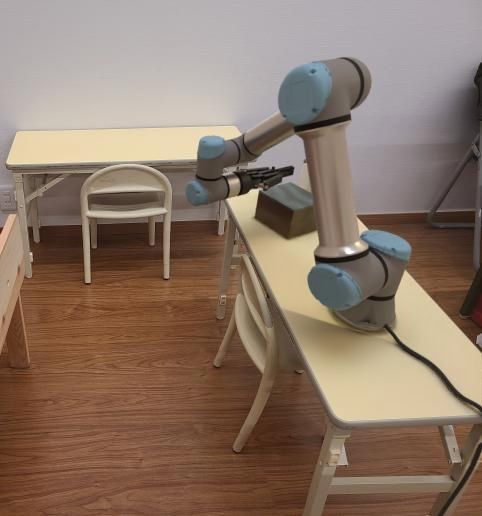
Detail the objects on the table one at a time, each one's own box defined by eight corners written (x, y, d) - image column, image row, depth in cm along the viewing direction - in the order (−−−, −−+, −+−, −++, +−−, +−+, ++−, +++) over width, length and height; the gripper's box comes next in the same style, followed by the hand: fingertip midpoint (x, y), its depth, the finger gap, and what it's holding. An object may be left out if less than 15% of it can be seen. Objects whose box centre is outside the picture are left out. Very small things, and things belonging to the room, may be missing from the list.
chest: (283, 209, 178) (288, 184, 173) (318, 229, 166) (324, 203, 161) (254, 217, 173) (258, 192, 167) (287, 239, 160) (293, 212, 155)
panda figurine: (323, 210, 178) (333, 171, 170) (291, 209, 178) (299, 170, 170) (315, 196, 188) (324, 158, 180) (285, 194, 188) (292, 157, 180)
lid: (290, 184, 173) (290, 182, 173) (326, 203, 161) (326, 200, 161) (258, 192, 167) (258, 190, 167) (293, 212, 155) (293, 210, 155)
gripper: (219, 187, 155) (276, 173, 164) (245, 204, 145) (304, 188, 155) (221, 165, 151) (280, 152, 160) (249, 180, 141) (309, 166, 151)
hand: (292, 170), depth 158 cm, fingers closed
